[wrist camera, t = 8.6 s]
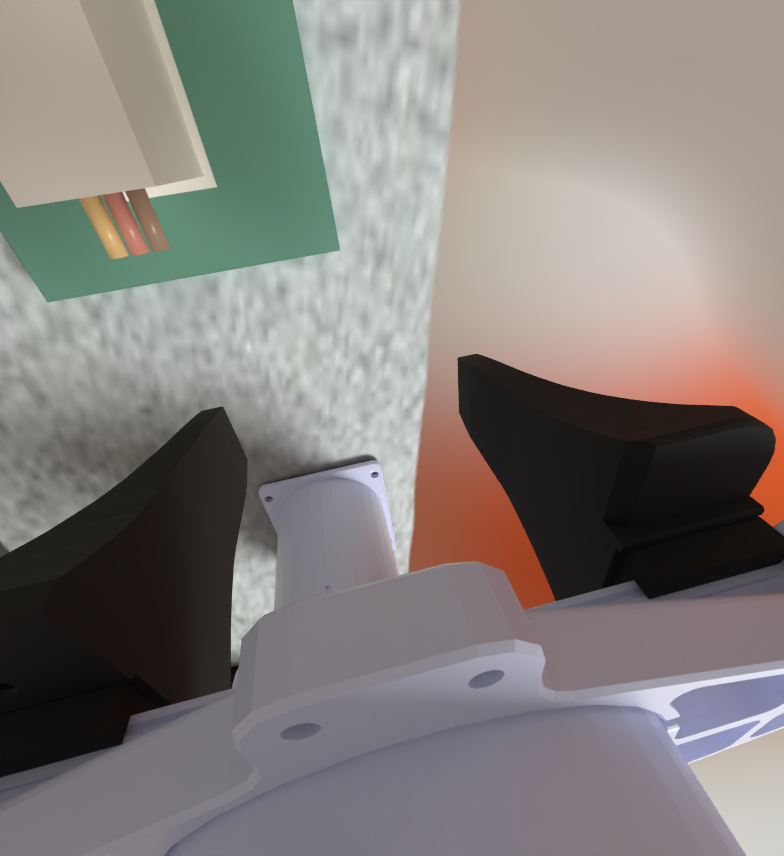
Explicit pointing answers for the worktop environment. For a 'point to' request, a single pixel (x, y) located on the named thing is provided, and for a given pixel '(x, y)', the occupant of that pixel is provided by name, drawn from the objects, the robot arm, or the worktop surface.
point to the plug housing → (90, 115)
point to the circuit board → (206, 162)
